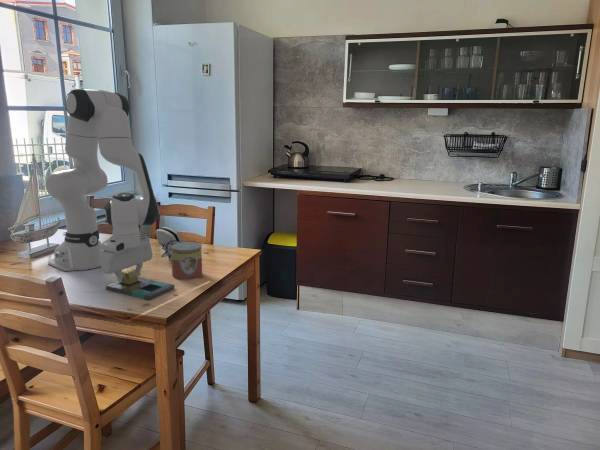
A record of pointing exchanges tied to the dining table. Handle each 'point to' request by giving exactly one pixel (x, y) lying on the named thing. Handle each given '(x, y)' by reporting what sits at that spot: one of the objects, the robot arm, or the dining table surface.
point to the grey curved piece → (166, 235)
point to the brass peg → (129, 277)
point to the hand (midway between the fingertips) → (129, 278)
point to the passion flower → (169, 248)
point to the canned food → (186, 260)
